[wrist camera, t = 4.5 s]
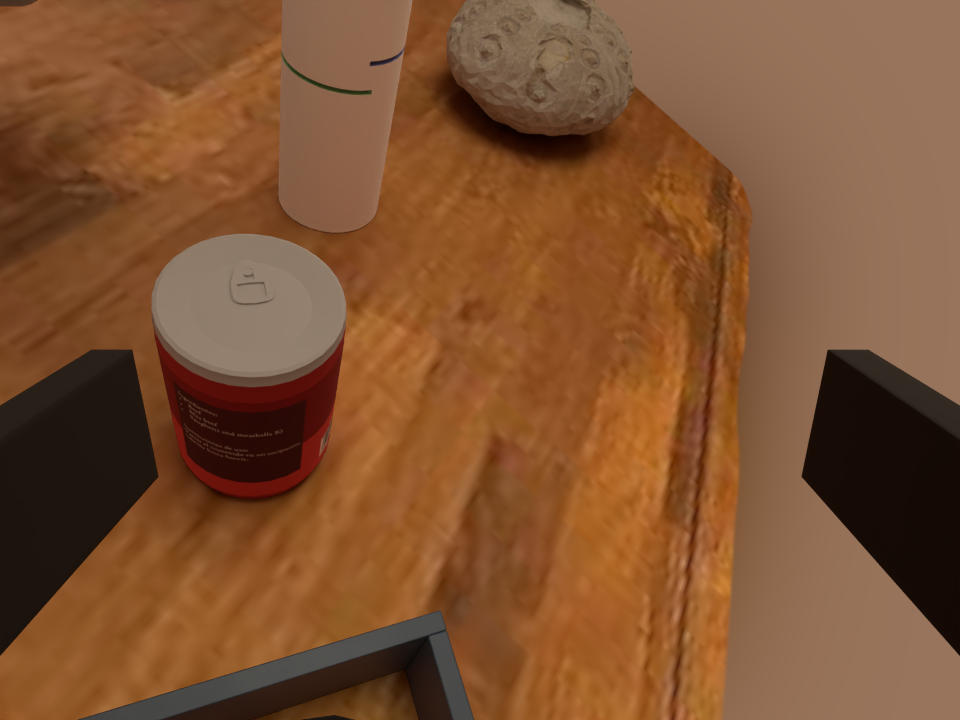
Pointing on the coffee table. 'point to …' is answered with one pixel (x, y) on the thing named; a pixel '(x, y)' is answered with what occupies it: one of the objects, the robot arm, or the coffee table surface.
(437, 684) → the frame
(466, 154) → the coffee table surface
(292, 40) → the cylindrical container
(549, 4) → the decorative shell
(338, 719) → the travel mug
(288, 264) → the canned food
